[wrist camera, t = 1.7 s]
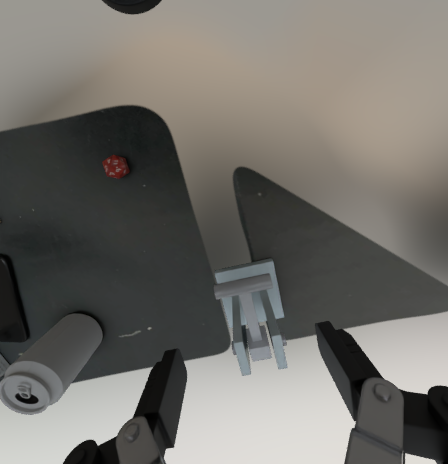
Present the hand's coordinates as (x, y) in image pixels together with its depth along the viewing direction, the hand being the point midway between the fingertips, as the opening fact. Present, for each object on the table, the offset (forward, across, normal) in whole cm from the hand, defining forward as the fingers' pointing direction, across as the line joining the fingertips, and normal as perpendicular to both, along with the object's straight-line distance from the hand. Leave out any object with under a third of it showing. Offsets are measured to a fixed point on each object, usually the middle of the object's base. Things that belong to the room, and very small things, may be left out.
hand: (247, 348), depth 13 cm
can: (+22, +29, +10) cm, 38 cm away
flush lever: (+10, 0, +5) cm, 11 cm away
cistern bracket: (+21, 0, +9) cm, 23 cm away
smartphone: (+22, +41, +1) cm, 46 cm away
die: (+22, +13, -14) cm, 29 cm away
